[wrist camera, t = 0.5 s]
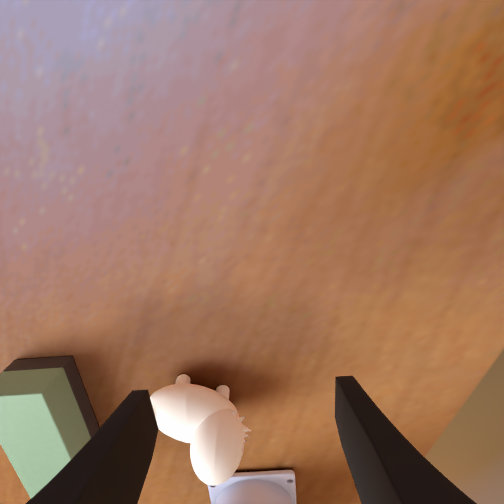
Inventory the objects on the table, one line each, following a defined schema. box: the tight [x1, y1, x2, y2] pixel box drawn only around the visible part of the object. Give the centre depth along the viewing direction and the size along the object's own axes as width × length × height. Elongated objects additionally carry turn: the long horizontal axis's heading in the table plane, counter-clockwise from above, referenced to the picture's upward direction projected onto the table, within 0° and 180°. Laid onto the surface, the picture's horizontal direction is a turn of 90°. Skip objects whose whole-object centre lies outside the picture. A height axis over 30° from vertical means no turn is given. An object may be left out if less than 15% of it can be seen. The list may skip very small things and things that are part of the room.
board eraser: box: [0, 356, 100, 498], centre depth 23 cm, size 12×4×4 cm, turn 5°
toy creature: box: [150, 374, 252, 486], centre depth 21 cm, size 5×8×6 cm, turn 70°
